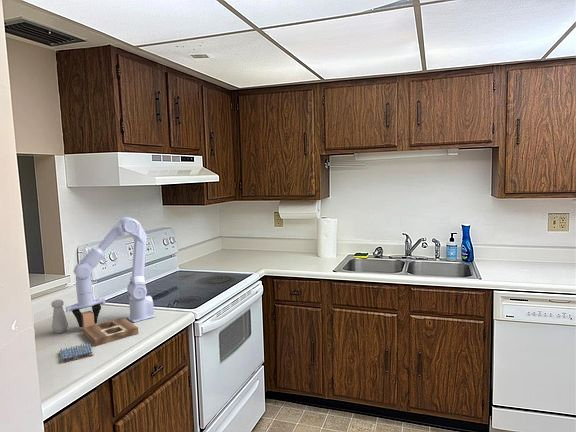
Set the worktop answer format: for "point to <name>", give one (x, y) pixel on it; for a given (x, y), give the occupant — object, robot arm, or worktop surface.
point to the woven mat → (76, 353)
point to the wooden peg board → (110, 331)
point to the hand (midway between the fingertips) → (88, 324)
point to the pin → (87, 319)
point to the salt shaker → (59, 317)
